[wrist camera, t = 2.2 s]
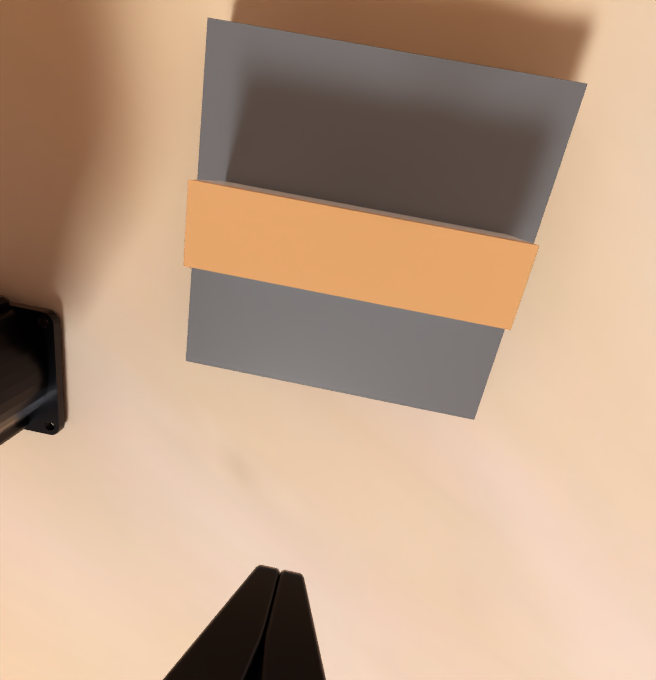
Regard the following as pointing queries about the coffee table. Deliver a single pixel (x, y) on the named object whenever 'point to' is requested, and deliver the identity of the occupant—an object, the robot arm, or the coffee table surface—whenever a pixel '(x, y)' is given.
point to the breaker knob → (356, 252)
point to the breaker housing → (368, 199)
